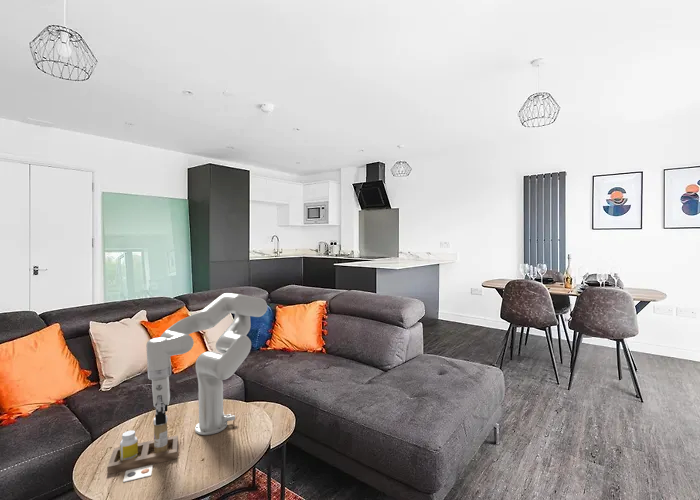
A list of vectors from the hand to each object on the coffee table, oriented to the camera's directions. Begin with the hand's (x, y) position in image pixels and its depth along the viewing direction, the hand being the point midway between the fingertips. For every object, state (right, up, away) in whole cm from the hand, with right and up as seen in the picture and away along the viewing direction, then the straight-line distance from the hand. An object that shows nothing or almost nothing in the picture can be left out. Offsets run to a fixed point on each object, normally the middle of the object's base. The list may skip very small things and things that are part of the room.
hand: (161, 417), depth 133 cm
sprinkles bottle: (0, -13, 0) cm, 13 cm away
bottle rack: (-5, -13, -2) cm, 14 cm away
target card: (-2, -13, -12) cm, 18 cm away
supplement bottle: (-9, -13, -4) cm, 17 cm away
